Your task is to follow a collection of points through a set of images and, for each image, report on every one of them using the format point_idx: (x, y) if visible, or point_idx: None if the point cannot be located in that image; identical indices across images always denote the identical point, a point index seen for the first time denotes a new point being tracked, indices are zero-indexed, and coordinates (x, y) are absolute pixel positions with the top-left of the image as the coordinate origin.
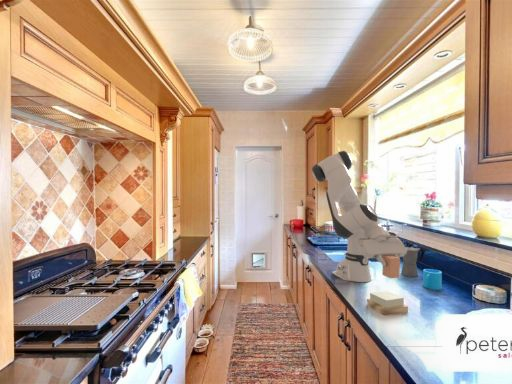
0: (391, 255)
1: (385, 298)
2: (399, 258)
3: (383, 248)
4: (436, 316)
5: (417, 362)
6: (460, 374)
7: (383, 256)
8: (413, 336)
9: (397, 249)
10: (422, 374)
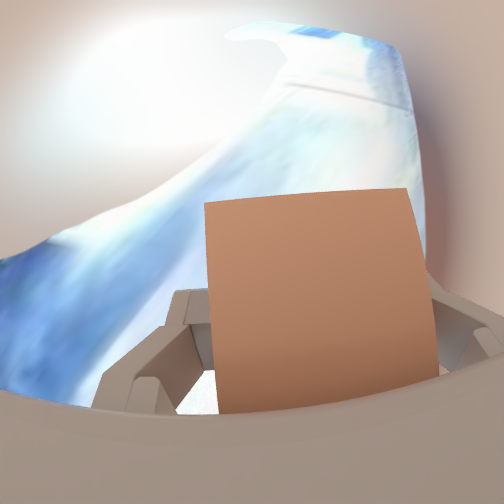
0: None
1: None
2: (214, 207)
3: (484, 492)
4: (139, 230)
5: (377, 64)
6: (322, 34)
7: (433, 376)
8: (329, 125)
9: (17, 466)
10: (383, 48)
